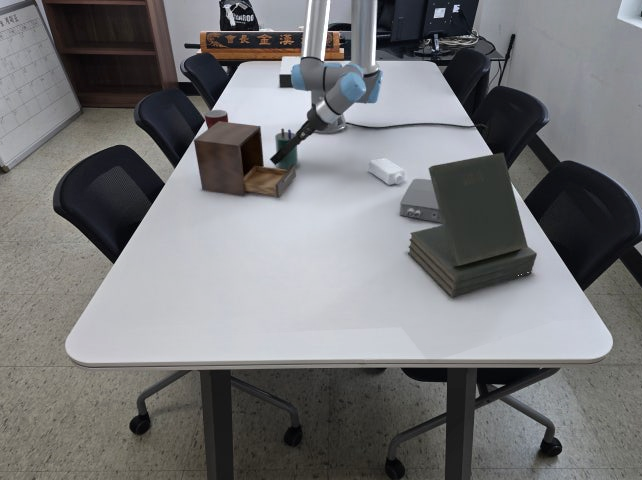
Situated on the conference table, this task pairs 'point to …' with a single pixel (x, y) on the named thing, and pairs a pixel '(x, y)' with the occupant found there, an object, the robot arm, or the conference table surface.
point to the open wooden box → (228, 156)
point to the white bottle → (387, 171)
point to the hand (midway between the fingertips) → (277, 157)
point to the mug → (215, 117)
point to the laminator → (287, 69)
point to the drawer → (269, 180)
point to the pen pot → (293, 155)
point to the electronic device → (420, 201)
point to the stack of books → (473, 228)
